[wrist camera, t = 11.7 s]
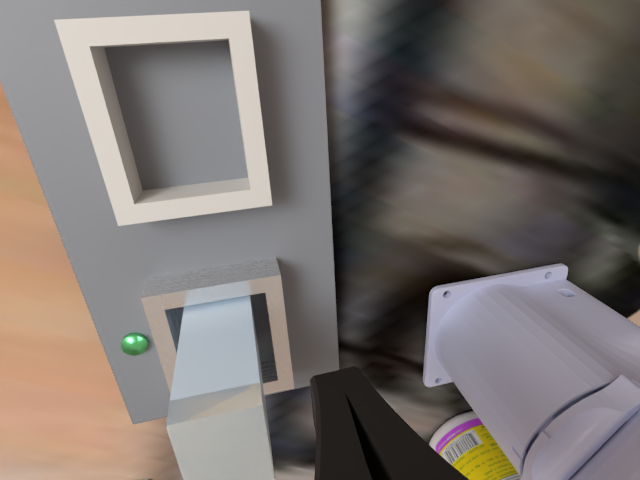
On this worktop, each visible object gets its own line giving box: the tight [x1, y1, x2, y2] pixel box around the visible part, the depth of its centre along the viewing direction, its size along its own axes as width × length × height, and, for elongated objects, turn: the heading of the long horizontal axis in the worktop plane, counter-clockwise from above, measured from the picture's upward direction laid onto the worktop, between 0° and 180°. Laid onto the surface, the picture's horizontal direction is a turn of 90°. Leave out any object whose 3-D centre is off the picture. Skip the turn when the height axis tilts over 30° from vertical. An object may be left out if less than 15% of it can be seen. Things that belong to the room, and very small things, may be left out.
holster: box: [54, 11, 272, 226], centre depth 15 cm, size 6×7×2 cm
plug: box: [166, 295, 275, 480], centre depth 17 cm, size 3×4×8 cm
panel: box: [0, 0, 339, 424], centre depth 19 cm, size 12×21×1 cm, turn 3°
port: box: [121, 257, 294, 395], centre depth 20 cm, size 8×7×2 cm
